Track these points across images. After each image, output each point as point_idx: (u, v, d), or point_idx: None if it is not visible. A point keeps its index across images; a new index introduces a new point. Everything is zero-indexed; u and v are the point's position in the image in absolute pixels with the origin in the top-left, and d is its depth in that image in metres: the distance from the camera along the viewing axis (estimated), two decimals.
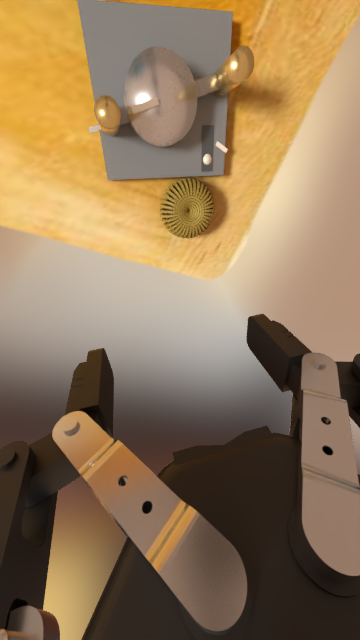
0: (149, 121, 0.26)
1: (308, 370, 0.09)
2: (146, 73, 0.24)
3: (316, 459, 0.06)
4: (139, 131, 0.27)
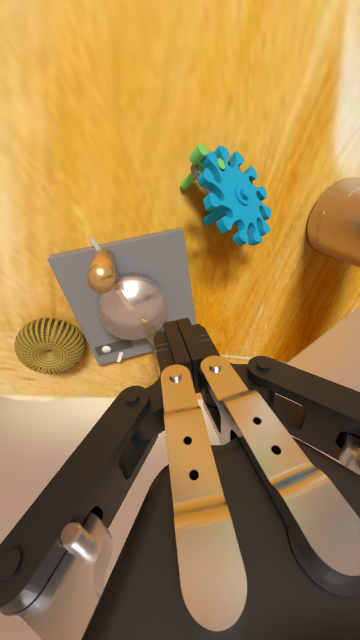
0: (114, 304, 0.26)
1: (212, 377, 0.09)
2: (147, 296, 0.27)
3: (275, 466, 0.06)
4: (103, 297, 0.26)
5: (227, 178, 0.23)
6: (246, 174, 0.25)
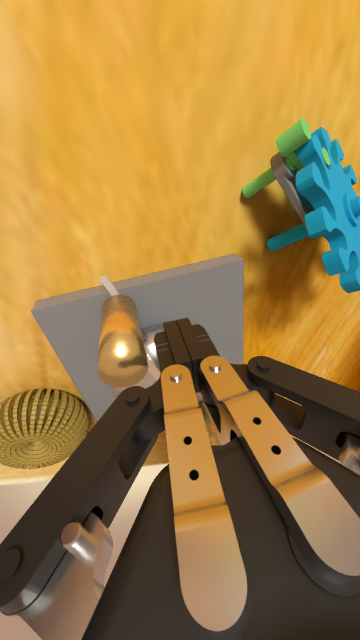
0: None
1: (212, 377, 0.09)
2: None
3: (275, 466, 0.06)
4: None
5: (334, 181, 0.13)
6: (348, 177, 0.16)
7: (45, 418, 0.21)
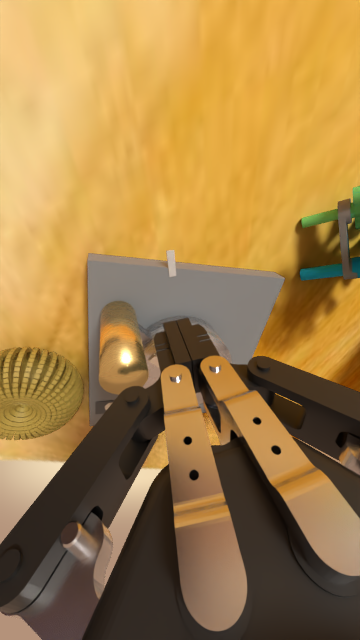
0: (152, 376, 0.17)
1: (212, 377, 0.09)
2: None
3: (275, 466, 0.06)
4: None
5: None
6: None
7: None
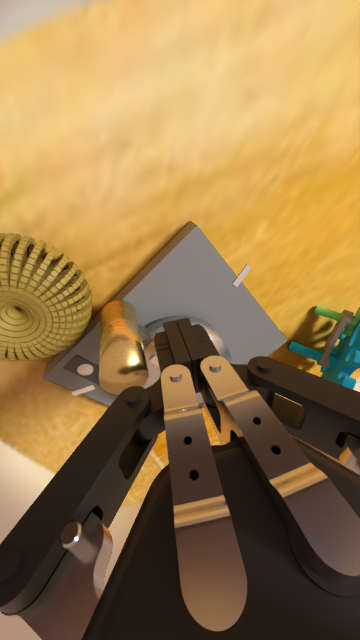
0: (153, 376, 0.17)
1: (212, 377, 0.09)
2: None
3: (275, 466, 0.06)
4: None
5: None
6: None
7: None
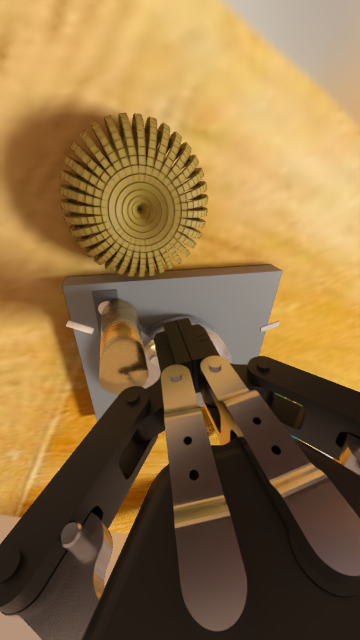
0: (153, 376, 0.17)
1: (212, 377, 0.09)
2: None
3: (275, 466, 0.06)
4: None
5: None
6: None
7: None
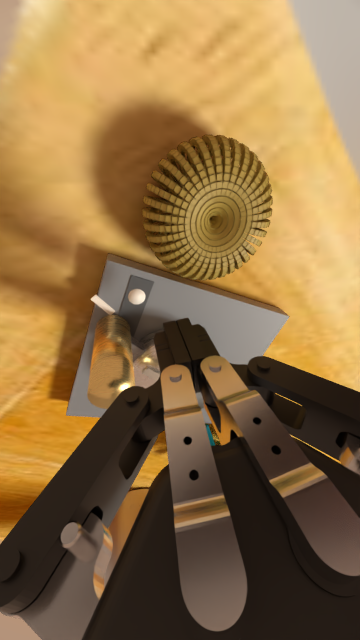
0: (147, 387, 0.18)
1: (212, 377, 0.09)
2: None
3: (275, 466, 0.06)
4: None
5: None
6: None
7: None
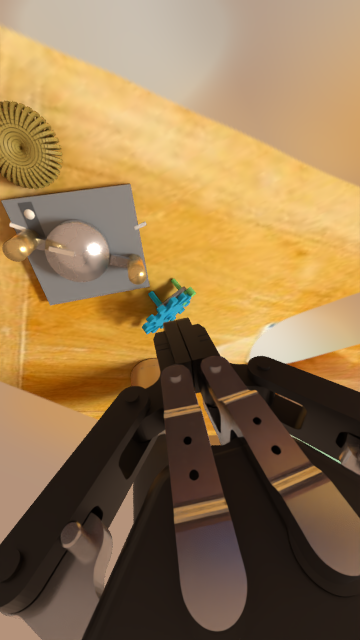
0: (61, 260, 0.32)
1: (212, 377, 0.09)
2: (72, 235, 0.30)
3: (275, 466, 0.06)
4: (49, 262, 0.31)
5: (178, 307, 0.40)
6: (174, 316, 0.43)
7: None
